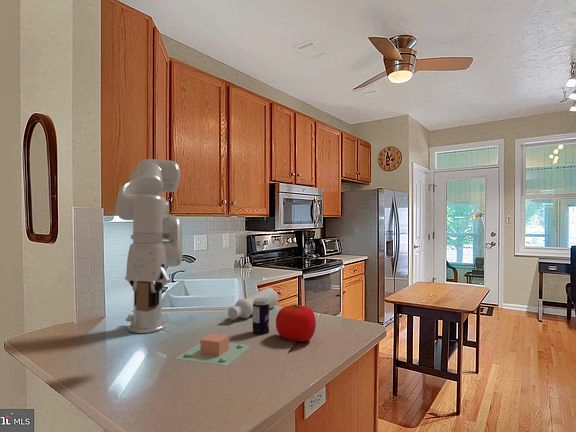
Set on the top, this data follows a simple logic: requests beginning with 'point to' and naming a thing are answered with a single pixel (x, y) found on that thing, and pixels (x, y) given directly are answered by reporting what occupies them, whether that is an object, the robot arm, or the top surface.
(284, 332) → the tomato
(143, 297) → the wooden block
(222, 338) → the brick
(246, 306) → the bottle
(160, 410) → the top surface
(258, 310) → the beverage can
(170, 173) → the robot arm
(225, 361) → the baseplate
